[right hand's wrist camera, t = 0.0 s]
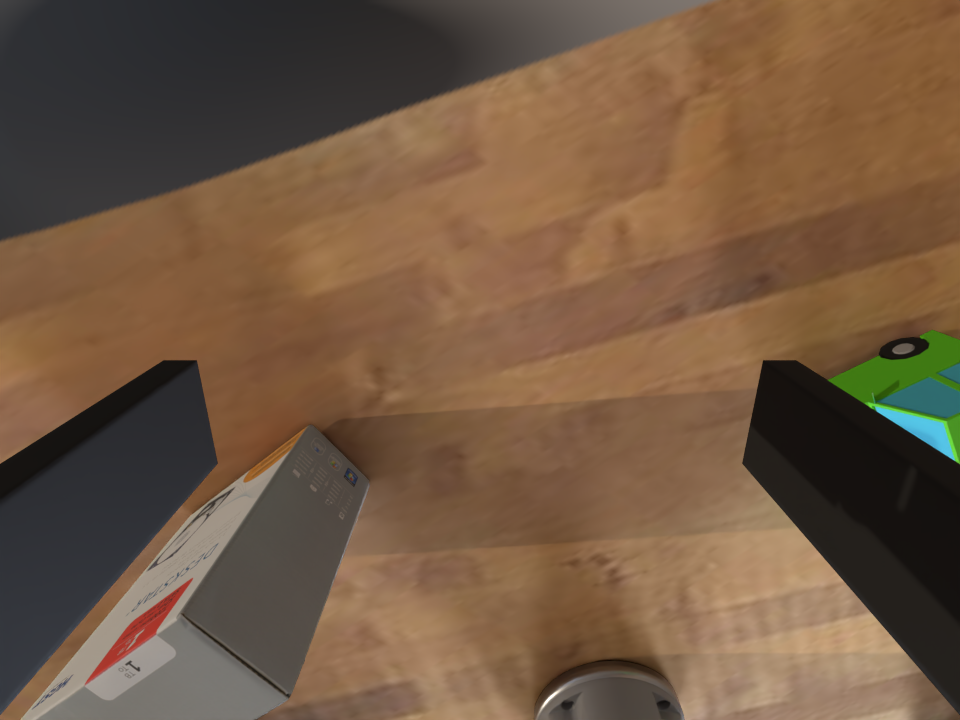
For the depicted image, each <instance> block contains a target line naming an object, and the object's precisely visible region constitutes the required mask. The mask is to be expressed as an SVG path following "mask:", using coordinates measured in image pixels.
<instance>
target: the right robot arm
mask: <svg viewBox="0 0 960 720" xmlns="http://www.w3.org/2000/svg"><path fill="white" fill-rule="evenodd" d="M217 464H218V462H217V458H216V453H215V448H214V443H213V438H212V433H211V428H210V423H209V418H208V413H207V408H206V403H205V398H204V394H203V389H202V384H201V379H200V374H199V369H198V364H197V360H164V361H162V362H160V363H159V364H157V365H156V366H154V367H153V368H151V369H149V370H148V371H146V372H145V373H143V374H142V375H140V376H138V377H137V378H135V379H134V380H132V381H130V382H129V383H127V384H126V385H124V386H123V387H121V388H119V389H118V390H116V391H115V392H113V393H112V394H110V395H108V396H107V397H105V398H104V399H102V400H100V401H99V402H97V403H96V404H94V405H93V406H91V407H89V408H88V409H86V410H85V411H83V412H81V413H80V414H78V415H77V416H75V417H74V418H72V419H70V420H69V421H67V422H66V423H64V424H63V425H61V426H59V427H58V428H56V429H55V430H53V431H51V432H50V433H48V434H47V435H45V436H44V437H42V438H40V439H39V440H37V441H36V442H34V443H33V444H31V445H29V446H28V447H26V448H25V449H23V450H21V451H20V452H18V453H17V454H15V455H14V456H12V457H10V458H9V459H7V460H6V461H4V462H3V463H1V464H0V715H1V713H2V712H3V711H4V710H5V709H6V708H7V707H8V705H9V704H10V703H11V702H12V701H13V700H14V698H15V697H16V696H17V695H18V694H19V693H20V691H21V690H22V689H23V688H24V687H25V686H26V685H27V683H28V682H29V681H30V680H31V679H32V678H33V676H34V675H35V674H36V673H37V672H38V671H39V670H40V668H41V667H42V666H43V665H44V664H45V663H46V661H47V660H48V659H49V658H50V657H51V656H52V654H53V653H54V652H55V651H56V650H57V649H58V648H59V646H60V645H61V644H62V643H63V642H64V641H65V639H66V638H67V637H68V636H69V635H70V634H71V633H72V631H73V630H74V629H75V628H76V627H77V626H78V624H79V623H80V622H81V621H82V620H83V619H84V617H85V616H86V615H87V614H88V613H89V612H90V611H91V609H92V608H93V607H94V606H95V605H96V604H97V602H98V601H99V600H100V599H101V598H102V597H103V596H104V594H105V593H106V592H107V591H108V590H109V589H110V587H111V586H112V585H113V584H114V583H115V582H116V580H117V579H118V578H119V577H120V576H121V575H122V574H123V572H124V571H125V570H126V569H127V568H128V567H129V565H130V564H131V563H132V562H133V561H134V560H135V559H136V557H137V556H138V555H139V554H140V553H141V552H142V550H143V549H144V548H145V547H146V546H147V545H148V543H149V542H150V541H151V540H152V539H153V538H154V537H155V535H156V534H157V533H158V532H159V531H160V530H161V528H162V527H163V526H164V525H165V524H166V523H167V522H168V520H169V519H170V518H171V517H172V516H173V515H174V513H175V512H176V511H177V510H178V509H179V508H180V506H181V505H182V504H183V503H184V502H185V501H186V500H187V498H188V497H189V496H190V495H191V494H192V493H193V491H194V490H195V489H196V488H197V487H198V486H199V485H200V483H201V482H202V481H203V480H204V479H205V478H206V476H207V475H208V474H209V473H210V472H211V471H212V469H213V468H214V467H215V466H216V465H217ZM742 464H743V465H744V466H745V467H746V468H747V469H748V471H749V472H750V473H751V474H752V475H753V476H754V478H755V479H756V480H757V481H758V482H759V483H760V485H761V486H762V487H763V488H764V489H765V490H766V491H767V493H768V494H769V495H770V496H771V497H772V498H773V500H774V501H775V502H776V503H777V504H778V505H779V506H780V508H781V509H782V510H783V511H784V512H785V513H786V515H787V516H788V517H789V518H790V519H791V520H792V522H793V523H794V524H795V525H796V526H797V527H798V528H799V530H800V531H801V532H802V533H803V534H804V535H805V537H806V538H807V539H808V540H809V541H810V542H811V543H812V545H813V546H814V547H815V548H816V549H817V550H818V552H819V553H820V554H821V555H822V556H823V557H824V559H825V560H826V561H827V562H828V563H829V564H830V565H831V567H832V568H833V569H834V570H835V571H836V572H837V574H838V575H839V576H840V577H841V578H842V579H843V580H844V582H845V583H846V584H847V585H848V586H849V587H850V589H851V590H852V591H853V592H854V593H855V594H856V596H857V597H858V598H859V599H860V600H861V601H862V602H863V604H864V605H865V606H866V607H867V608H868V609H869V611H870V612H871V613H872V614H873V615H874V616H875V617H876V619H877V620H878V621H879V622H880V623H881V624H882V626H883V627H884V628H885V629H886V630H887V631H888V633H889V634H890V635H891V636H892V637H893V638H894V639H895V641H896V642H897V643H898V644H899V645H900V646H901V648H902V649H903V650H904V651H905V652H906V653H907V654H908V656H909V657H910V658H911V659H912V660H913V661H914V663H915V664H916V665H917V666H918V667H919V668H920V670H921V671H922V672H923V673H924V674H925V675H926V676H927V678H928V679H929V680H930V681H931V682H932V683H933V685H934V686H935V687H936V688H937V689H938V690H939V692H940V693H941V694H942V695H943V696H944V697H945V698H946V700H947V701H948V702H949V703H950V704H951V705H952V707H953V708H954V709H955V710H956V711H957V712H958V713H959V715H960V464H959V463H957V462H956V461H954V460H953V459H951V458H950V457H948V456H946V455H945V454H943V453H942V452H940V451H939V450H937V449H935V448H934V447H932V446H931V445H929V444H927V443H926V442H924V441H923V440H921V439H920V438H918V437H916V436H915V435H913V434H912V433H910V432H909V431H907V430H905V429H904V428H902V427H901V426H899V425H897V424H896V423H894V422H893V421H891V420H890V419H888V418H886V417H885V416H883V415H882V414H880V413H879V412H877V411H875V410H874V409H872V408H871V407H869V406H867V405H866V404H864V403H863V402H861V401H860V400H858V399H856V398H855V397H853V396H852V395H850V394H848V393H847V392H845V391H844V390H842V389H841V388H839V387H837V386H836V385H834V384H833V383H831V382H830V381H828V380H826V379H825V378H823V377H822V376H820V375H818V374H817V373H815V372H814V371H812V370H811V369H809V368H807V367H806V366H804V365H803V364H801V363H800V362H798V361H796V360H763V364H762V369H761V374H760V379H759V384H758V389H757V394H756V398H755V403H754V408H753V413H752V418H751V423H750V428H749V433H748V438H747V443H746V448H745V453H744V458H743V462H742ZM534 720H684V715H683V712H682V709H681V706H680V703H679V701H678V698H677V695H676V693H675V691H674V689H673V687H672V686H671V684H670V683H669V682H668V681H667V680H666V679H665V678H664V677H663V676H661V675H660V674H659V673H657V672H655V671H654V670H652V669H649V668H647V667H645V666H642V665H639V664H635V663H630V662H623V661H601V662H594V663H589V664H585V665H582V666H579V667H576V668H573V669H571V670H569V671H567V672H565V673H563V674H561V675H560V676H558V677H557V678H556V679H554V680H553V681H552V682H551V683H550V684H548V685H547V687H546V688H545V689H544V690H543V691H542V693H541V694H540V696H539V698H538V700H537V702H536V705H535V709H534Z"/></svg>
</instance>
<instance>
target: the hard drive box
mask: <svg viewBox="0 0 960 720" xmlns="http://www.w3.org/2000/svg"><path fill="white" fill-rule="evenodd" d="M369 486H370V484H369V480H368V479H367V478H366V477H365V476H364V475H363V474H362V473H361V472H360V471H359V470H358V469H357V468H356V467H355V466H354V465H353V464H352V463H351V462H350V461H349V460H348V459H347V458H346V457H345V456H344V455H343V454H342V453H341V452H340V451H339V450H338V449H337V448H336V447H335V446H334V445H333V444H332V443H331V442H330V441H329V440H328V439H327V438H326V437H325V436H324V435H323V434H322V433H321V432H320V431H319V430H317V429H316V428H315V427H314V426H313V425H308V426H307V427H306V428H304V429H303V430H301V431H300V432H299V433H297V434H296V435H295V436H294V437H292V438H291V439H290V440H288V441H287V442H285V443H284V444H283V445H282V446H280V447H279V448H278V449H276V450H275V451H274V452H273V453H271V454H270V455H269V456H268V457H266V458H265V459H264V460H262V461H261V462H260V463H258V464H257V465H256V466H254V467H253V468H252V469H251V470H249V471H248V472H247V473H245V474H244V475H243V476H241V477H240V478H239V479H238V480H236V481H235V482H234V483H232V484H231V485H230V486H228V487H227V488H226V489H224V490H223V491H221V492H220V493H219V494H218V495H217V496H215V497H214V498H212V499H211V500H210V501H208V502H207V503H206V504H205V505H204V506H202V507H201V508H200V509H199V510H197V511H196V512H195V513H193V514H192V515H191V516H190V517H189V518H188V519H187V520H186V522H185V523H184V524H183V525H182V526H181V528H180V529H179V530H178V531H177V532H176V534H175V535H174V536H173V537H172V538H171V539H170V541H169V542H168V543H167V544H166V545H165V547H164V548H163V549H162V550H161V551H160V553H159V554H158V555H157V556H156V558H155V559H154V560H153V561H152V562H151V564H150V565H149V566H148V567H147V568H146V570H145V571H144V572H143V573H142V575H141V576H140V577H139V578H138V579H137V581H136V582H135V583H134V584H133V585H132V587H131V588H130V589H129V590H128V591H127V593H126V594H125V595H124V596H123V597H122V599H121V600H120V601H119V602H118V603H117V605H116V606H115V607H114V608H113V609H112V611H111V612H110V613H109V614H108V616H107V617H106V618H105V619H104V620H103V622H102V623H101V624H100V625H99V626H98V627H97V629H96V630H95V631H94V632H93V633H92V635H91V636H90V637H89V638H88V639H87V641H86V642H85V643H84V644H83V645H82V647H81V648H80V649H79V650H78V652H77V653H76V654H75V655H74V656H73V658H72V659H71V660H70V661H69V662H68V664H67V665H66V666H65V667H64V668H63V670H62V671H61V672H60V673H59V674H58V676H57V677H56V678H55V679H54V680H53V682H52V683H51V684H50V685H49V686H48V688H47V689H46V690H45V691H44V692H43V694H42V695H41V696H40V697H39V698H38V700H37V701H36V702H35V703H34V704H33V705H32V707H31V708H30V709H29V710H28V711H27V712H26V714H25V715H24V716H23V717H22V718H21V720H257V719H258V718H260V717H262V716H263V715H265V714H266V713H268V712H270V711H271V710H273V709H274V708H276V707H277V706H279V705H281V704H282V703H284V702H286V701H287V700H288V699H289V697H290V695H291V694H292V692H293V689H294V686H295V684H296V681H297V679H298V676H299V674H300V671H301V668H302V665H303V664H304V661H305V657H306V654H307V652H308V649H309V646H310V644H311V641H312V638H313V636H314V633H315V630H316V627H317V625H318V622H319V619H320V617H321V614H322V611H323V609H324V606H325V603H326V601H327V598H328V595H329V593H330V590H331V587H332V585H333V582H334V580H335V577H336V574H337V572H338V569H339V566H340V564H341V561H342V558H343V556H344V553H345V550H346V548H347V545H348V542H349V540H350V537H351V534H352V532H353V529H354V526H355V524H356V521H357V518H358V516H359V513H360V511H361V508H362V505H363V503H364V500H365V497H366V495H367V492H368V489H369Z"/></svg>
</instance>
